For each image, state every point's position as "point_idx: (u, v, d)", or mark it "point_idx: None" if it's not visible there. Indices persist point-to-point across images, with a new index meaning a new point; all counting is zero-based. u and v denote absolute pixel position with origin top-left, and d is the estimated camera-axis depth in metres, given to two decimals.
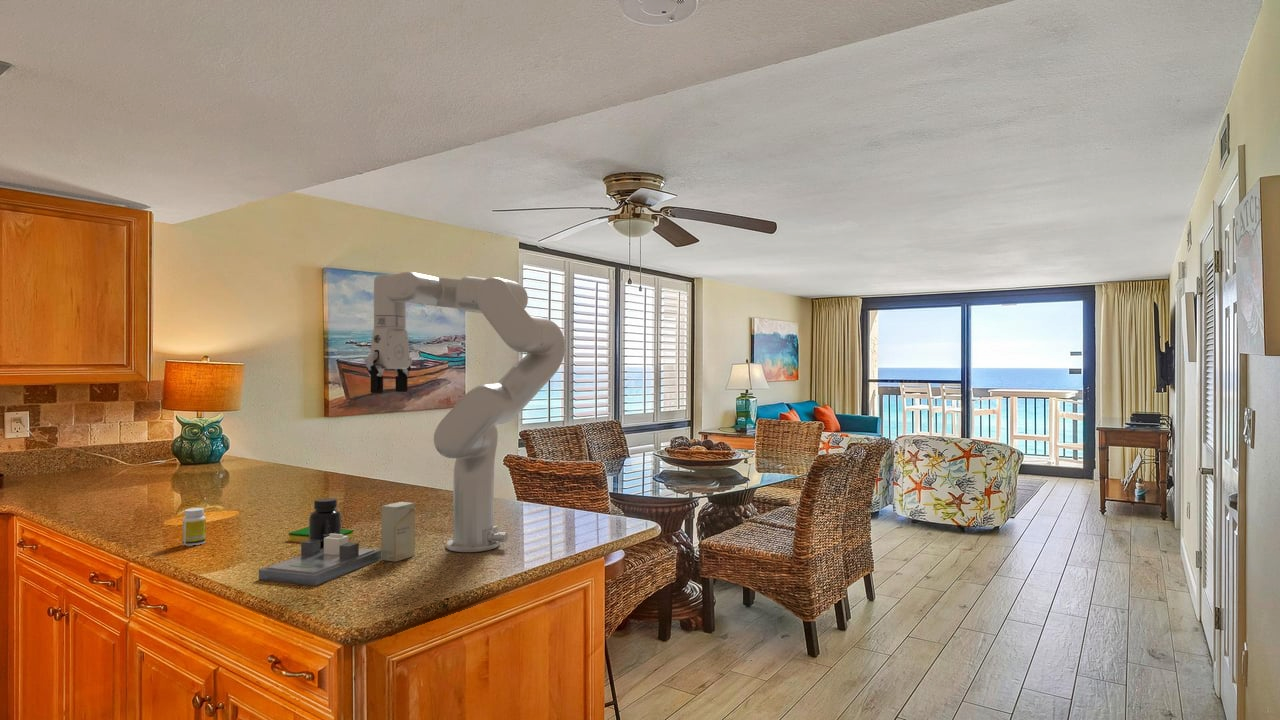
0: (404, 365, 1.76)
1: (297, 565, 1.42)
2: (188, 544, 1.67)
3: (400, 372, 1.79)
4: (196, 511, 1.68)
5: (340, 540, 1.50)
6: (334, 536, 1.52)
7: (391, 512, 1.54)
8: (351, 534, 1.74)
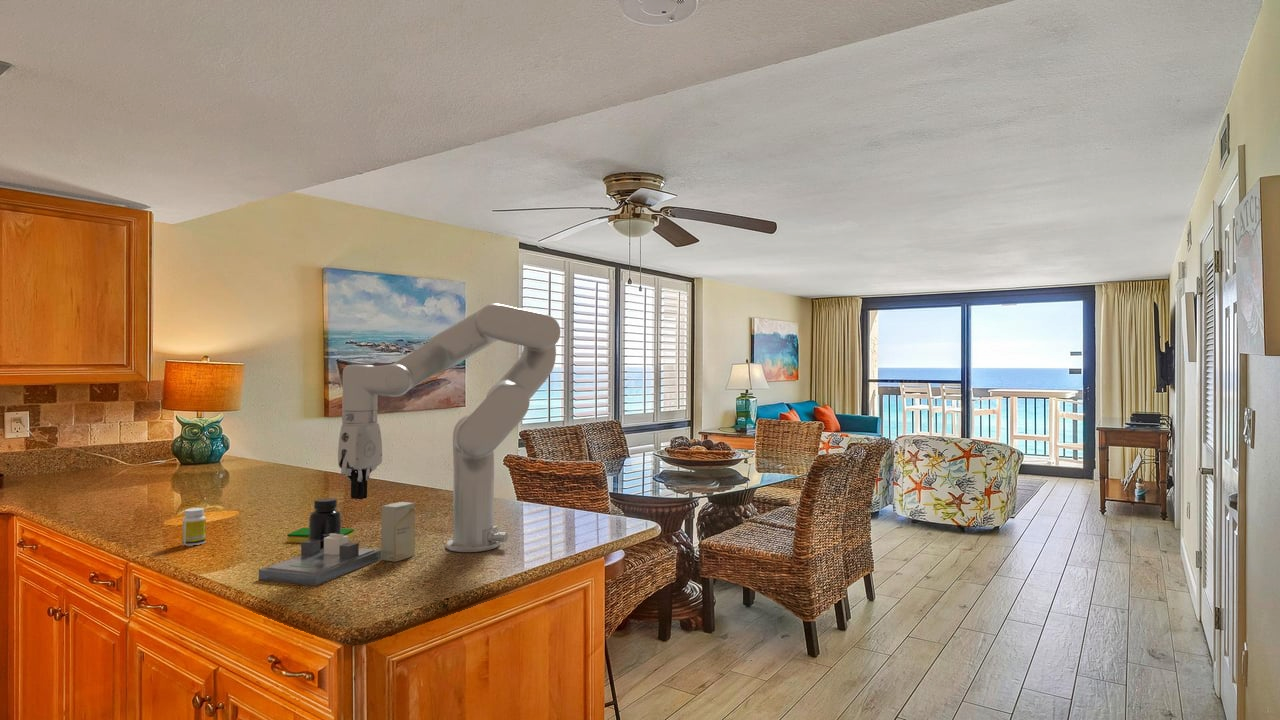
0: (375, 462, 1.61)
1: (297, 565, 1.42)
2: (188, 544, 1.67)
3: None
4: (196, 511, 1.68)
5: (340, 540, 1.50)
6: (334, 536, 1.52)
7: (391, 512, 1.54)
8: (352, 533, 1.76)
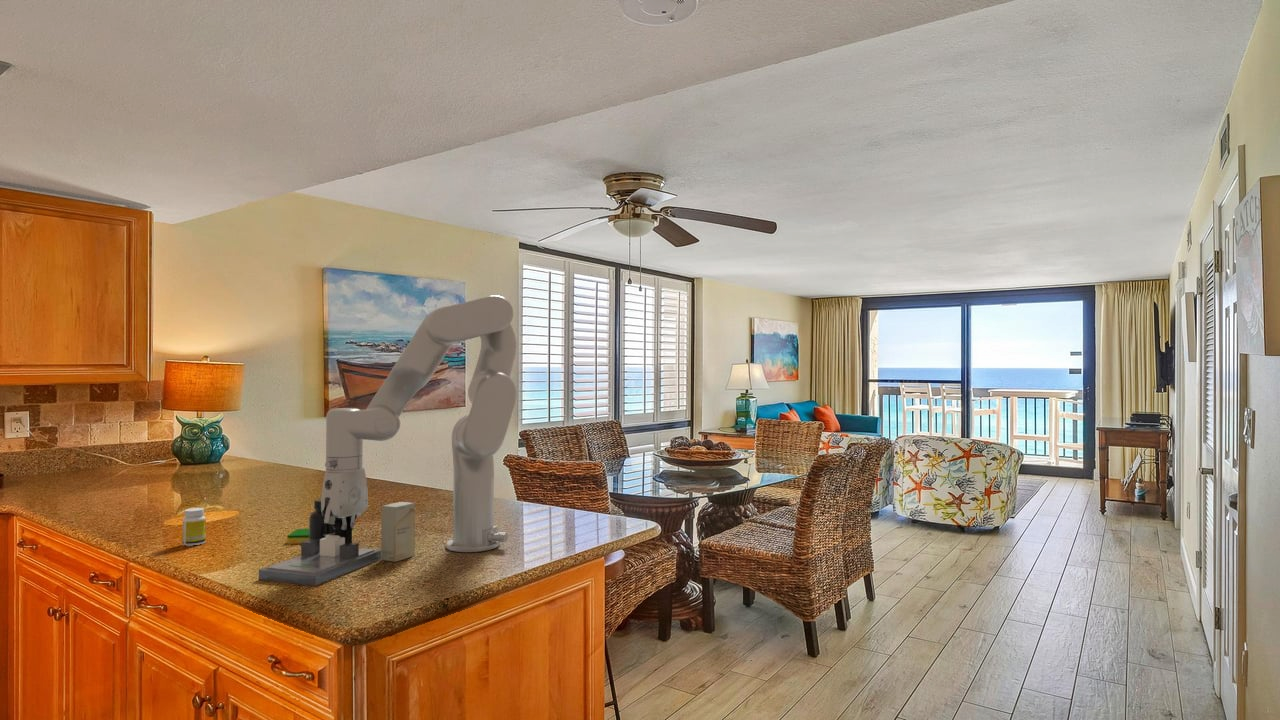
0: (360, 509, 1.56)
1: (297, 565, 1.42)
2: (188, 544, 1.67)
3: (345, 521, 1.56)
4: (196, 511, 1.68)
5: (335, 541, 1.49)
6: (330, 537, 1.51)
7: (391, 512, 1.54)
8: (352, 531, 1.77)
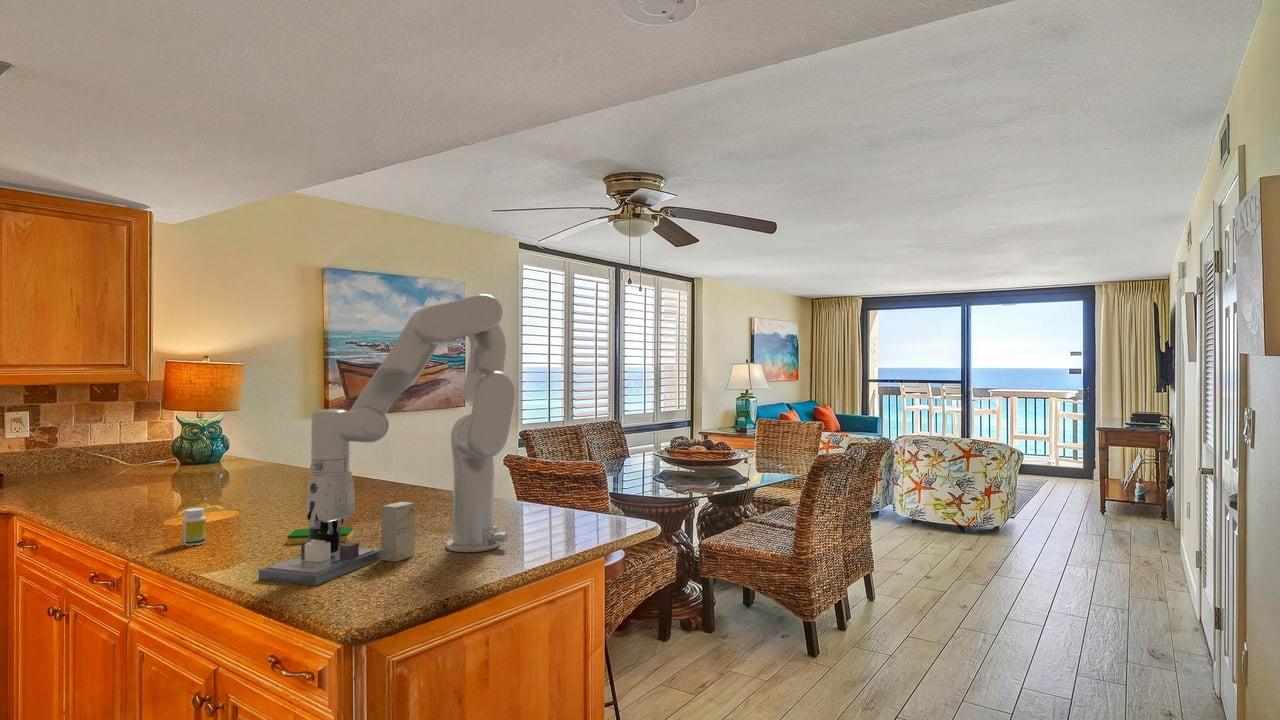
0: (347, 513, 1.52)
1: (297, 565, 1.42)
2: (188, 544, 1.67)
3: (331, 526, 1.51)
4: (196, 511, 1.68)
5: (321, 546, 1.45)
6: (315, 542, 1.46)
7: (391, 512, 1.54)
8: (352, 531, 1.78)
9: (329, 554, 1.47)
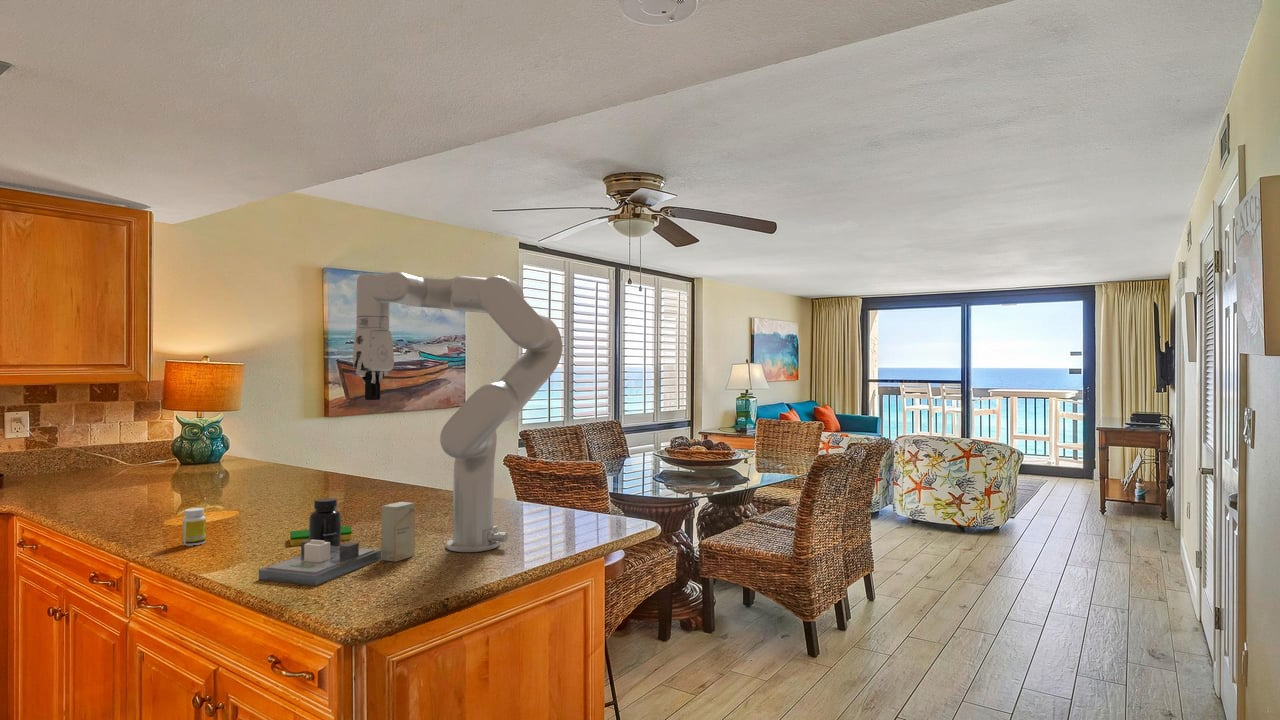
0: (388, 367, 1.71)
1: (297, 565, 1.42)
2: (188, 544, 1.67)
3: None
4: (196, 511, 1.68)
5: (320, 546, 1.45)
6: (315, 542, 1.46)
7: (391, 512, 1.54)
8: None
9: (329, 554, 1.47)
